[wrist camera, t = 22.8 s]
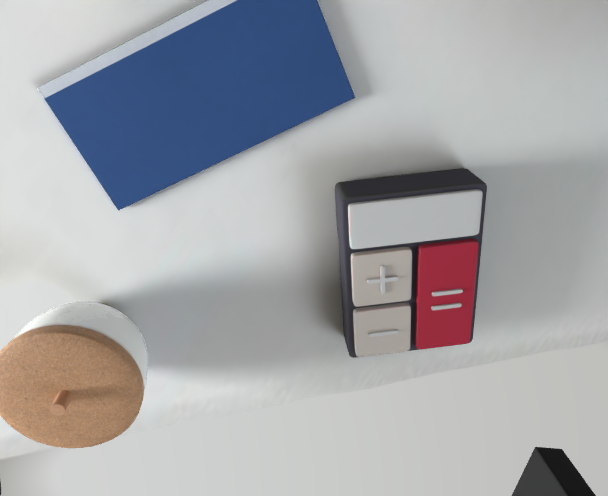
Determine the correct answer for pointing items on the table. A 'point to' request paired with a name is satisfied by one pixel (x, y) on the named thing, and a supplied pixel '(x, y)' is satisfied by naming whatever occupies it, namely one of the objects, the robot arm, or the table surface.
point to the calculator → (409, 260)
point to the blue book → (198, 92)
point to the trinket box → (74, 376)
